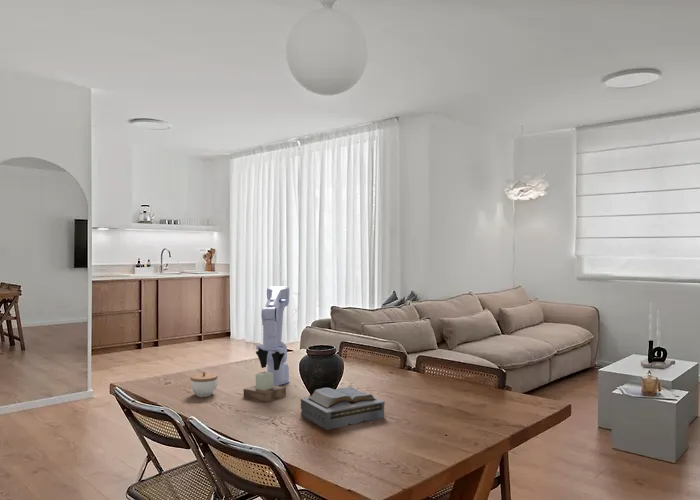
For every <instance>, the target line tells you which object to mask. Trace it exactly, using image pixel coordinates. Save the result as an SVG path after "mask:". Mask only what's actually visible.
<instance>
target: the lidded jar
mask: <svg viewBox="0 0 700 500" xmlns="http://www.w3.org/2000/svg"><path fill="white" fill-rule="evenodd" d="M190 386H191V387H190V388H191V390H192V392H193V393H194V394H195V395H196V397H198V398H199V397H200V398H203V397H204V398H206V397H210V396H212V395H213V393H214V392H215V391H216V389H217V386H218V374H216V373H212V372H206V371H202V373H196V374H192V375H191V376H190Z"/></svg>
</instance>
